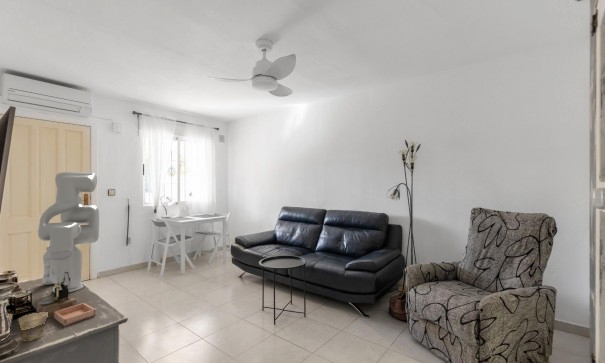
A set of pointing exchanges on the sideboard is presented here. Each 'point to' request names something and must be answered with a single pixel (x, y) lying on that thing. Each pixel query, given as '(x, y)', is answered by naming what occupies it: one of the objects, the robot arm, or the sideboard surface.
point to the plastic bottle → (47, 267)
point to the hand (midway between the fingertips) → (61, 296)
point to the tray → (74, 314)
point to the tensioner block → (54, 305)
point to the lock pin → (57, 294)
